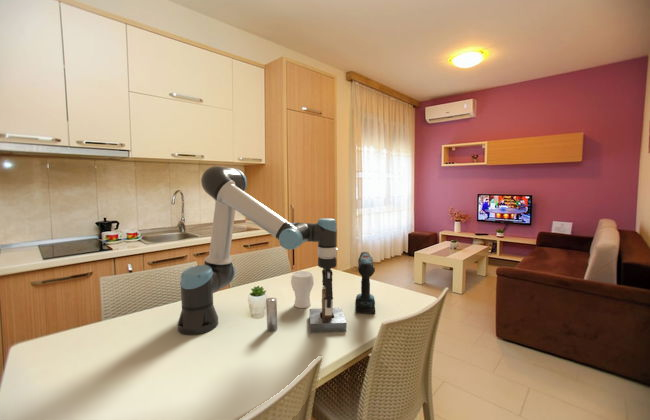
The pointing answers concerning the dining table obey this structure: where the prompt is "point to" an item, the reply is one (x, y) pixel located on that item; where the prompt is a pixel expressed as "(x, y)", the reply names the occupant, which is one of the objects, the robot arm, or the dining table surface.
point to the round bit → (271, 314)
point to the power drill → (365, 285)
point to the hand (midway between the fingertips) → (327, 307)
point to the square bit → (324, 306)
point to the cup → (302, 288)
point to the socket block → (327, 321)
